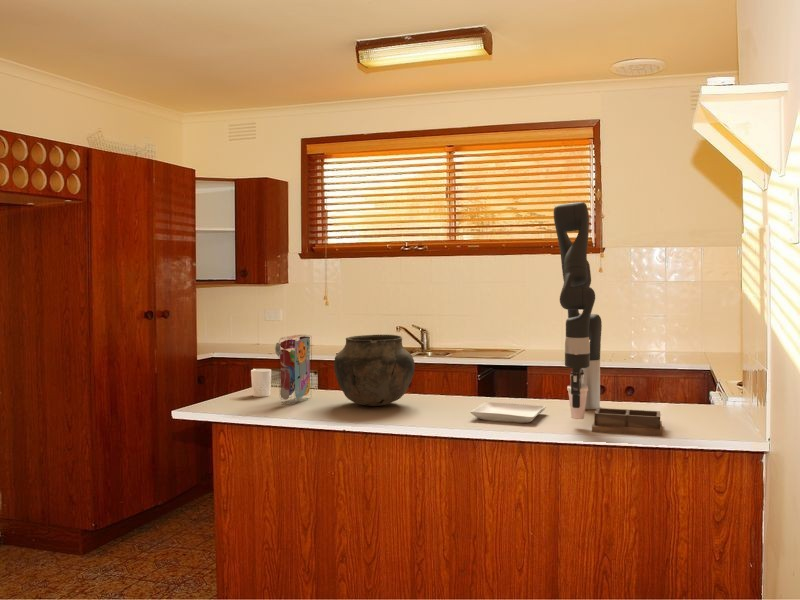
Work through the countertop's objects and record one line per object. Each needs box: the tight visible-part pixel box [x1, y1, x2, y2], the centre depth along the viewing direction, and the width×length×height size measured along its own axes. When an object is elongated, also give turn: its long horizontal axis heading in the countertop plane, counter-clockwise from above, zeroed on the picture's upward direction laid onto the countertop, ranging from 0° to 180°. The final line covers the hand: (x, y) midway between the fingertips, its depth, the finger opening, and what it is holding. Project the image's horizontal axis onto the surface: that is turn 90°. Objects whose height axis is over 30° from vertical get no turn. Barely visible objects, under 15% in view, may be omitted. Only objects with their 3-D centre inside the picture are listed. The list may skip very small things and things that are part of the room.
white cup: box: [250, 368, 272, 398], centre depth 294 cm, size 8×8×10 cm
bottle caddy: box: [591, 407, 663, 437], centre depth 231 cm, size 15×20×5 cm
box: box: [274, 334, 313, 406], centre depth 277 cm, size 25×6×24 cm, turn 163°
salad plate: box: [470, 401, 547, 424], centre depth 250 cm, size 21×21×3 cm
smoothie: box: [566, 385, 588, 420], centre depth 232 cm, size 6×6×14 cm
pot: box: [333, 334, 415, 407], centre depth 271 cm, size 29×32×25 cm
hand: (577, 405), depth 232 cm, fingers closed on smoothie, 5 cm apart
